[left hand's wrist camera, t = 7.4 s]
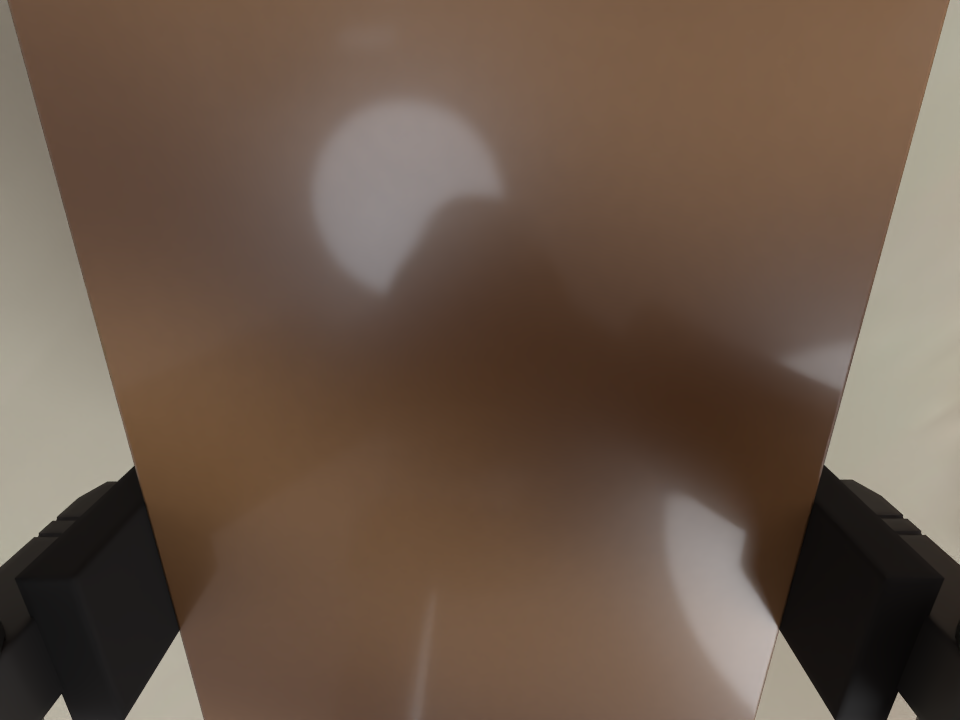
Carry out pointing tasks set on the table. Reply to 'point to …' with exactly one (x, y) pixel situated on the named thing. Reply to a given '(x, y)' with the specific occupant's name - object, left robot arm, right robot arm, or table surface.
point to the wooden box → (478, 328)
